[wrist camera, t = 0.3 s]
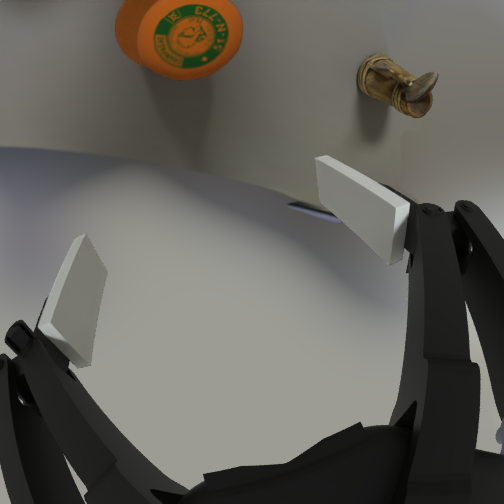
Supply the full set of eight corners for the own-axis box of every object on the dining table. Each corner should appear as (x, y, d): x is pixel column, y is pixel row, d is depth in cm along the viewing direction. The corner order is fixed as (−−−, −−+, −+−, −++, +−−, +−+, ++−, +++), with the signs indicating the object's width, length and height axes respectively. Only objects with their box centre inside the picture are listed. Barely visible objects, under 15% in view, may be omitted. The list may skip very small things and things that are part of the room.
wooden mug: (362, 27, 29) (452, 62, 19) (401, 75, 37) (474, 122, 27) (331, 62, 34) (412, 108, 23) (374, 105, 42) (443, 159, 32)
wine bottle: (217, 30, 26) (367, 105, 9) (149, 66, 28) (144, 218, 10) (185, -25, 19) (288, -121, 1) (113, 13, 20) (-21, 38, 2)
